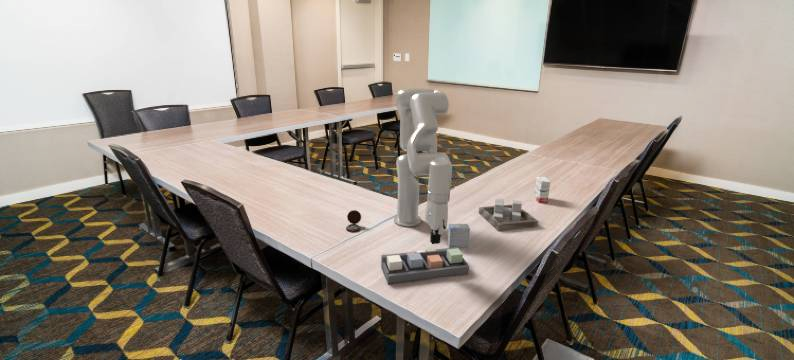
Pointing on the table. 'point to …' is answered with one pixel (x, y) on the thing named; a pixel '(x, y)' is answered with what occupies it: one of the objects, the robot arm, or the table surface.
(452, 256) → the key sage
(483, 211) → the square grey tray
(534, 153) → the table surface
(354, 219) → the compass
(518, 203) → the gray cube cluster
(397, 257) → the key ivory
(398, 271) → the grey compartment tray
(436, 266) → the peach square block
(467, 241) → the medicine box
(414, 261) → the key slate
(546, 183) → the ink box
